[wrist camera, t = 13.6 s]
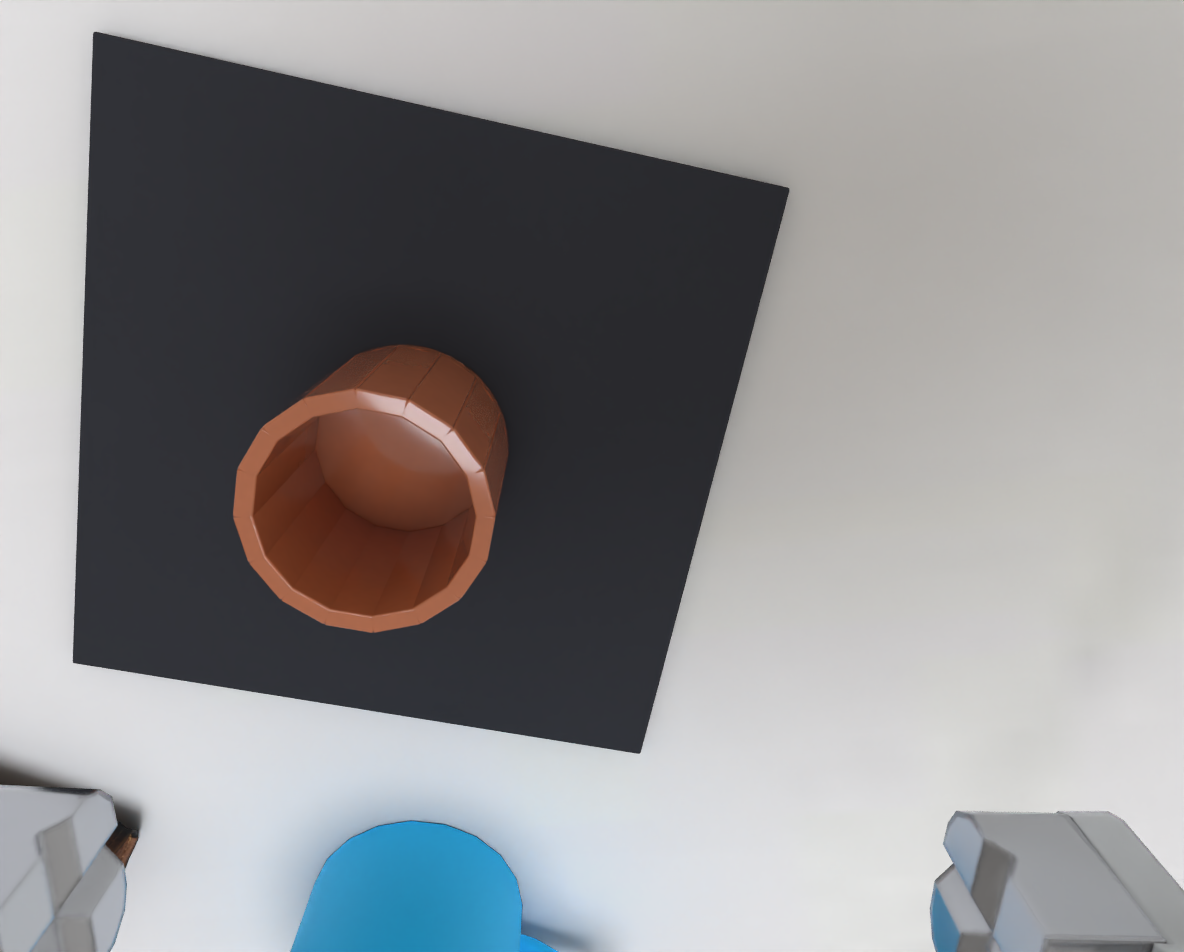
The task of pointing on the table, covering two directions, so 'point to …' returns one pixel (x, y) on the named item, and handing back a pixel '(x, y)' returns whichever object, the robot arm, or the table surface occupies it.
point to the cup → (376, 490)
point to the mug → (414, 896)
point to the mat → (400, 317)
